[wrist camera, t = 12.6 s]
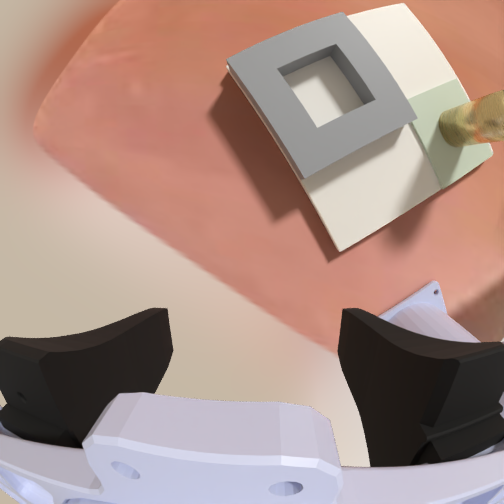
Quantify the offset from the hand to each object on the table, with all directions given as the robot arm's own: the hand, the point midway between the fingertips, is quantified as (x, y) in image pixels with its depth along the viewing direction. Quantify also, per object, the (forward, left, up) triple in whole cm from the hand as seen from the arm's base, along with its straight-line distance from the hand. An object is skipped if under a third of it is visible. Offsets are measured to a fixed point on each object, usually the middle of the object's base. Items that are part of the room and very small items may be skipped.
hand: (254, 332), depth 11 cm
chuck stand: (+6, -14, -9) cm, 18 cm away
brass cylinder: (+2, -19, -8) cm, 20 cm away
